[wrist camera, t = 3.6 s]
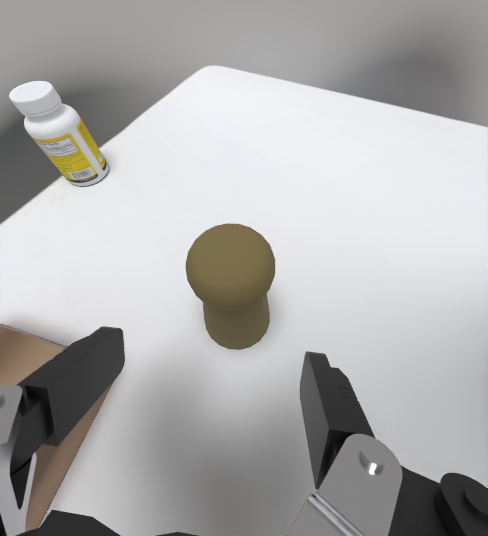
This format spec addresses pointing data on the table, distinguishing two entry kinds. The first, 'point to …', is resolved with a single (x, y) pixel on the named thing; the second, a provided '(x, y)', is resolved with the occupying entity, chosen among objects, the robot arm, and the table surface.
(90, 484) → the table surface
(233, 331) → the cork
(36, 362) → the walnut riser
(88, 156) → the supplement bottle
